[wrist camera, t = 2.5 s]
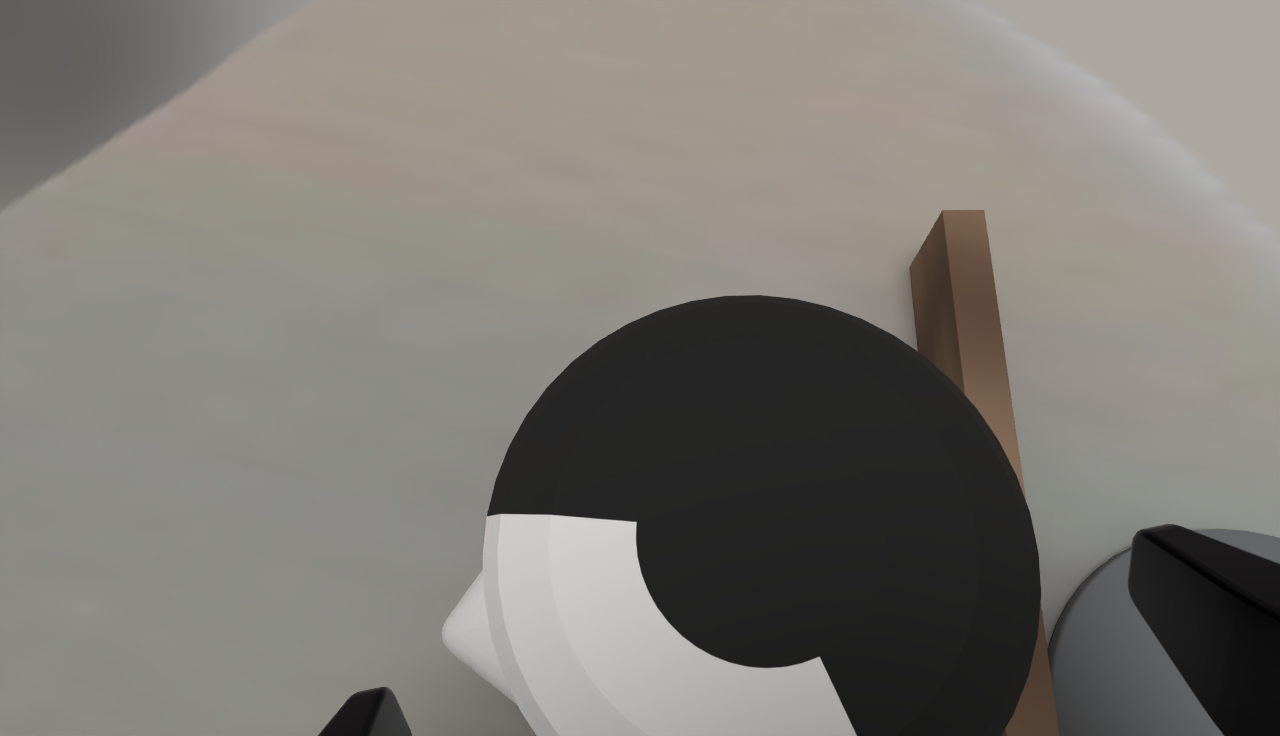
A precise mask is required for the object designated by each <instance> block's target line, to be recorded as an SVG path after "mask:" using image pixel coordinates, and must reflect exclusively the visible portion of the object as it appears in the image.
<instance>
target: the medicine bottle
mask: <svg viewBox="0 0 1280 736" xmlns="http://www.w3.org/2000/svg"><path fill="white" fill-rule="evenodd" d="M1040 601H1041V586H1040V570H1039V555H1038V549H1037V544H1036V539H1035V535H1034V530H1033V525H1032V520H1031V515H1030V512H1029V509H1028V506H1027V503H1026V500H1025V498H1024V495H1023V492H1022V489H1021V486H1020V483H1019V480H1018V478H1017V475H1016V473H1015V471H1014V469H1013V467H1012V465H1011V463H1010V461H1009V459H1008V457H1007V455H1006V454H1005V452H1004V450H1003V448H1002V446H1001V444H1000V442H999V440H998V439H997V437H996V436H995V434H994V433H993V431H992V430H991V428H990V427H989V425H988V424H987V422H986V421H985V420H984V418H983V417H982V415H981V414H980V412H979V411H978V409H977V408H976V407H975V406H974V405H973V404H972V403H971V401H970V400H969V399H968V398H967V397H966V396H965V395H964V393H963V392H962V391H961V390H960V389H959V388H958V387H957V386H956V384H955V383H954V382H953V381H952V380H951V379H950V378H949V377H947V376H946V375H945V374H944V373H943V372H942V371H941V370H939V369H938V368H937V367H936V366H935V365H934V364H933V363H932V362H930V361H929V360H928V359H927V358H926V357H925V356H923V355H922V354H920V353H919V352H917V351H916V350H915V349H913V348H912V347H910V346H909V345H907V344H906V343H904V342H903V341H901V340H900V339H898V338H897V337H895V336H894V335H892V334H890V333H888V332H886V331H884V330H882V329H880V328H878V327H876V326H874V325H873V324H871V323H869V322H867V321H865V320H863V319H860V318H858V317H855V316H852V315H850V314H847V313H844V312H841V311H839V310H836V309H833V308H830V307H827V306H823V305H819V304H814V303H810V302H806V301H801V300H797V299H791V298H781V297H771V296H762V295H752V296H723V297H716V298H709V299H703V300H696V301H691V302H687V303H684V304H680V305H676V306H673V307H669V308H666V309H662V310H659V311H657V312H654V313H652V314H650V315H647V316H645V317H643V318H640V319H638V320H636V321H633V322H631V323H629V324H627V325H625V326H623V327H622V328H620V329H618V330H617V331H615V332H613V333H612V334H610V335H608V336H607V337H605V338H603V339H601V340H600V341H598V342H597V343H596V344H594V345H593V346H592V347H591V348H589V349H588V350H587V351H585V352H584V353H583V354H582V355H580V356H579V357H578V358H577V359H575V360H574V361H573V362H572V363H571V364H570V365H569V366H568V367H567V368H566V369H565V370H564V371H563V372H562V373H561V374H560V375H559V376H558V377H557V378H556V379H555V380H554V381H553V382H552V383H551V384H550V385H549V386H548V387H547V388H546V390H545V391H544V392H543V394H542V395H541V397H540V398H539V399H538V401H537V402H536V403H535V405H534V406H533V407H532V409H531V410H530V411H529V413H528V414H527V415H526V417H525V419H524V421H523V422H522V424H521V426H520V428H519V430H518V431H517V433H516V435H515V437H514V439H513V440H512V442H511V444H510V446H509V448H508V451H507V453H506V456H505V458H504V461H503V463H502V466H501V468H500V471H499V473H498V476H497V478H496V481H495V485H494V490H493V494H492V498H491V502H490V506H489V510H488V514H487V520H486V529H485V538H484V547H483V569H482V571H481V572H480V574H479V575H478V576H477V578H476V579H475V580H474V582H473V583H472V585H471V586H470V587H469V589H468V590H467V592H466V593H465V594H464V596H463V597H462V599H461V600H460V601H459V603H458V604H457V605H456V607H455V608H454V610H453V611H452V612H451V614H450V615H449V617H448V618H447V619H446V621H445V624H444V626H443V629H442V639H443V643H444V644H445V646H446V647H447V648H448V650H449V651H450V652H451V653H452V654H453V655H454V656H456V657H457V658H458V659H460V660H461V661H462V662H463V663H465V664H466V665H467V666H468V667H470V668H471V669H472V670H473V671H475V672H476V673H477V674H479V675H480V676H481V677H482V678H484V679H485V680H486V681H487V682H489V683H490V684H491V685H492V686H494V687H495V688H496V689H498V690H499V691H500V692H501V693H503V694H504V695H505V696H506V697H508V698H509V699H510V700H511V701H513V702H514V703H515V704H517V705H518V707H519V709H520V711H521V712H522V714H523V715H524V717H525V719H526V720H527V722H528V723H529V725H530V726H531V728H532V729H533V731H534V733H535V734H536V736H1001V735H1002V733H1003V732H1004V730H1005V728H1006V726H1007V725H1008V723H1009V721H1010V720H1011V718H1012V716H1013V714H1014V712H1015V709H1016V707H1017V704H1018V702H1019V699H1020V696H1021V694H1022V691H1023V689H1024V686H1025V684H1026V681H1027V679H1028V676H1029V672H1030V668H1031V663H1032V659H1033V654H1034V650H1035V646H1036V641H1037V637H1038V627H1039V614H1040Z"/></svg>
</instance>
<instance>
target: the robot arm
mask: <svg viewBox="0 0 1280 736" xmlns="http://www.w3.org/2000/svg"><path fill="white" fill-rule="evenodd" d="M1128 590H1129V594H1130V597H1131V599H1132V601H1133V603H1134V605H1135V606H1136V608H1137V609H1138V611H1139V612H1140V614H1141V615H1142V617H1143V618H1144V620H1145V621H1146V623H1147V624H1148V626H1149V627H1150V629H1151V630H1152V632H1153V633H1154V635H1155V636H1156V638H1157V639H1158V641H1159V642H1160V644H1161V645H1162V647H1163V648H1164V650H1165V651H1166V653H1167V654H1168V656H1169V657H1170V659H1171V660H1172V662H1173V663H1174V665H1175V666H1176V668H1177V669H1178V671H1179V672H1180V674H1181V675H1182V677H1183V678H1184V680H1185V681H1186V683H1187V684H1188V686H1189V687H1190V689H1191V690H1192V692H1193V693H1194V695H1195V696H1196V698H1197V699H1198V701H1199V702H1200V704H1201V705H1202V707H1203V708H1204V709H1205V711H1206V712H1207V714H1208V715H1209V717H1210V718H1211V719H1212V721H1213V722H1214V723H1215V725H1216V726H1217V727H1218V729H1219V730H1220V731H1221V732H1222V734H1223V735H1224V736H1280V563H1277V562H1274V561H1272V560H1269V559H1266V558H1264V557H1261V556H1258V555H1256V554H1253V553H1250V552H1248V551H1245V550H1242V549H1240V548H1237V547H1234V546H1232V545H1229V544H1226V543H1224V542H1221V541H1219V540H1216V539H1213V538H1211V537H1208V536H1205V535H1203V534H1200V533H1197V532H1195V531H1192V530H1189V529H1187V528H1184V527H1181V526H1178V525H1174V524H1166V525H1161V526H1156V527H1151V528H1147V529H1142V530H1140V531H1138V532H1137V533H1136V534H1135V536H1134V537H1133V541H1132V549H1131V558H1130V566H1129V574H1128ZM318 736H412V733H411V731H410V728H409V726H408V724H407V722H406V719H405V717H404V715H403V713H402V710H401V708H400V706H399V704H398V701H397V699H396V697H395V695H394V693H393V692H392V690H391V689H389V688H388V687H380V688H375V689H370V690H365V691H360V692H357V693H355V694H353V695H352V696H351V697H350V698H349V699H348V700H347V701H346V702H345V703H344V705H343V706H342V707H341V708H340V710H339V711H338V712H337V713H336V714H335V716H334V717H333V718H332V719H331V720H330V722H329V723H328V724H327V725H326V726H325V728H324V729H323V730H322V731H321V733H320V734H319V735H318Z"/></svg>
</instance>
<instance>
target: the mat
mask: <svg viewBox="0 0 1280 736" xmlns="http://www.w3.org/2000/svg"><path fill="white" fill-rule="evenodd" d="M1195 532H1197V533H1200V534H1203V535H1205V536H1208V537H1211V538H1213V539H1216V540H1219V541H1221V542H1224V543H1226V544H1229V545H1232V546H1234V547H1237V548H1240V549H1242V550H1245V551H1248V552H1250V553H1253V554H1256V555H1258V556H1261V557H1264V558H1266V559H1269V560H1272V561H1274V562H1277V563H1280V538H1277V537H1274V536H1269V535H1264V534H1259V533H1254V532H1249V531H1238V530H1225V529H1215V530H1195ZM1131 549H1132V547H1131V548H1129V549H1127V550H1125V551H1124V552H1122V553H1120V554H1118V555H1116V556H1114V557H1113V558H1111V559H1110V560H1109V561H1107V562H1106V563H1104V564H1103V565H1102V566H1100V567H1099V568H1098V569H1096V570H1095V571H1094V572H1093V573H1092V574H1091V575H1090V576H1089V577H1088V578H1087V579H1086V580H1085V581H1084V582H1083V583H1082V584H1081V585H1080V587H1079V588H1078V589H1077V591H1076V592H1075V594H1074V595H1073V596H1072V598H1071V599H1070V600H1069V602H1068V603H1067V605H1066V607H1065V609H1064V611H1063V613H1062V615H1061V616H1060V618H1059V620H1058V622H1057V624H1056V627H1055V630H1054V633H1053V636H1052V639H1051V642H1050V645H1049V648H1048V659H1049V666H1050V673H1051V680H1052V687H1053V694H1054V701H1055V708H1056V715H1057V722H1058V729H1059V736H1224V735H1223V734H1222V732H1221V731H1220V730H1219V729H1218V727H1217V726H1216V725H1215V723H1214V722H1213V721H1212V719H1211V718H1210V717H1209V715H1208V714H1207V712H1206V711H1205V709H1204V708H1203V707H1202V705H1201V704H1200V702H1199V701H1198V699H1197V698H1196V696H1195V695H1194V693H1193V692H1192V690H1191V689H1190V687H1189V686H1188V684H1187V683H1186V681H1185V680H1184V678H1183V677H1182V675H1181V674H1180V672H1179V671H1178V669H1177V668H1176V666H1175V665H1174V663H1173V662H1172V660H1171V659H1170V657H1169V656H1168V654H1167V653H1166V651H1165V650H1164V648H1163V647H1162V645H1161V644H1160V642H1159V641H1158V639H1157V638H1156V636H1155V635H1154V633H1153V632H1152V630H1151V629H1150V627H1149V626H1148V624H1147V623H1146V621H1145V620H1144V618H1143V617H1142V615H1141V614H1140V612H1139V611H1138V609H1137V608H1136V606H1135V605H1134V603H1133V601H1132V599H1131V597H1130V594H1129V590H1128V574H1129V566H1130V558H1131Z"/></svg>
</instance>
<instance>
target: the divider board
mask: <svg viewBox="0 0 1280 736" xmlns="http://www.w3.org/2000/svg"><path fill="white" fill-rule="evenodd" d="M910 274H911V284H912V293H913V303H914V313H915V323H916V333H917V342H918V352H919V353H920V354H922V355H923V356H925V357H926V358H927V359H928V360H929V361H930V362H932V363H933V364H934V365H935V366H936V367H937V368H938V369H939V370H941V371H942V372H943V373H944V374H945V375H946V376H947V377H949V378H950V379H951V380H952V381H953V382H954V383H955V384H956V386H957V387H958V388H959V389H960V390H961V391H962V392H963V393H964V395H965V396H966V397H967V398H968V399H969V400H970V401H971V403H972V404H973V405H974V406H975V407H976V408H977V409H978V411H979V412H980V414H981V415H982V417H983V418H984V420H985V421H986V422H987V424H988V425H989V427H990V428H991V430H992V431H993V433H994V434H995V436H996V437H997V439H998V440H999V442H1000V444H1001V446H1002V448H1003V450H1004V452H1005V454H1006V455H1007V457H1008V459H1009V461H1010V463H1011V465H1012V467H1013V469H1014V471H1015V473H1016V475H1017V478H1018V480H1019V483H1020V486H1021V489H1022V492H1023V495H1024V498H1025V492H1024V485H1023V478H1022V471H1021V464H1020V457H1019V450H1018V443H1017V436H1016V429H1015V422H1014V415H1013V408H1012V401H1011V394H1010V387H1009V380H1008V373H1007V366H1006V359H1005V352H1004V345H1003V338H1002V331H1001V324H1000V317H999V310H998V303H997V296H996V290H995V283H994V276H993V269H992V262H991V255H990V248H989V241H988V234H987V227H986V220H985V213H984V210H942V212H941V214H940V216H939V217H938V219H937V221H936V223H935V224H934V226H933V228H932V229H931V231H930V233H929V235H928V236H927V238H926V240H925V242H924V243H923V245H922V247H921V248H920V250H919V252H918V254H917V255H916V257H915V259H914V261H913V262H912V264H911V266H910ZM1025 500H1026V499H1025ZM1001 736H1059V729H1058V722H1057V715H1056V708H1055V701H1054V694H1053V687H1052V680H1051V673H1050V666H1049V659H1048V652H1047V645H1046V638H1045V631H1044V624H1043V617H1042V610H1041V603H1040V614H1039V627H1038V637H1037V641H1036V646H1035V650H1034V654H1033V659H1032V663H1031V668H1030V672H1029V676H1028V679H1027V681H1026V684H1025V686H1024V689H1023V691H1022V694H1021V696H1020V699H1019V702H1018V704H1017V707H1016V709H1015V712H1014V714H1013V716H1012V718H1011V720H1010V721H1009V723H1008V725H1007V726H1006V728H1005V730H1004V732H1003V733H1002V735H1001Z"/></svg>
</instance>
